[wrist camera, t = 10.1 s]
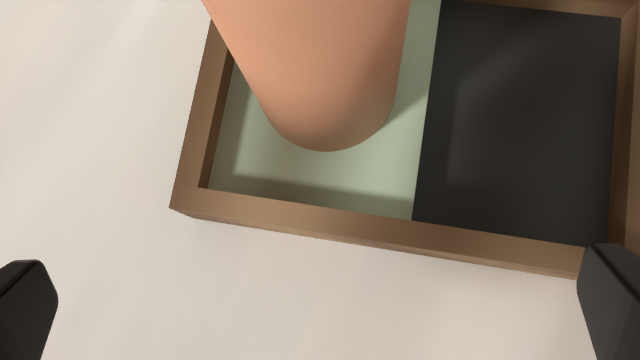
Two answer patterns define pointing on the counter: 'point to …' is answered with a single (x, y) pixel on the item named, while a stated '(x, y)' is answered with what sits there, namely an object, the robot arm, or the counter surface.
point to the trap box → (448, 142)
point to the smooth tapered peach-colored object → (317, 63)
